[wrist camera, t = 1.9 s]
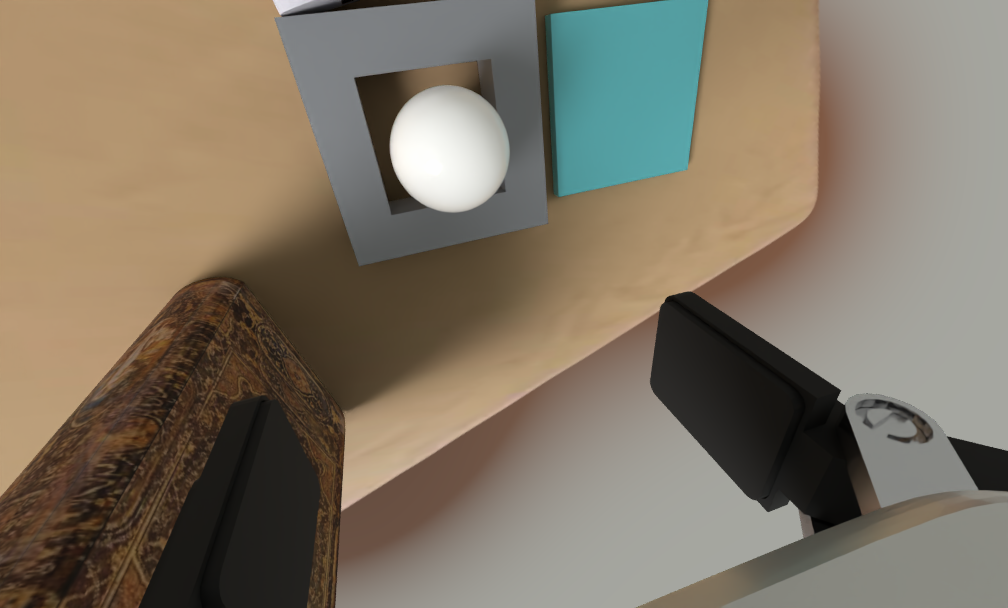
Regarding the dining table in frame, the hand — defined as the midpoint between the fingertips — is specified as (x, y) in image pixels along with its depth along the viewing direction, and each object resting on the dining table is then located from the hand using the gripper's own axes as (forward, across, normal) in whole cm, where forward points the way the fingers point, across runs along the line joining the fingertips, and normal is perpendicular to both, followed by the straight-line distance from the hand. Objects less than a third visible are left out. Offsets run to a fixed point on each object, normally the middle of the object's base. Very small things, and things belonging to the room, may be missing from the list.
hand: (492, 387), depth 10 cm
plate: (+23, -17, -3) cm, 29 cm away
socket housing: (+23, -2, -3) cm, 23 cm away
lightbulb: (+23, -2, -3) cm, 24 cm away
